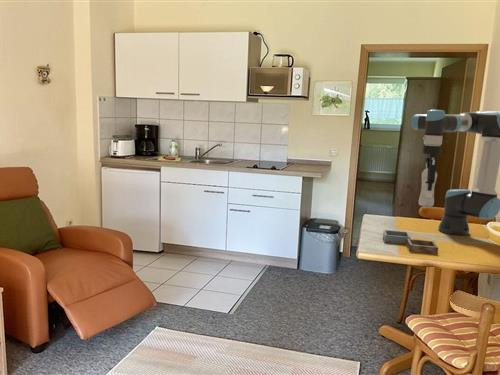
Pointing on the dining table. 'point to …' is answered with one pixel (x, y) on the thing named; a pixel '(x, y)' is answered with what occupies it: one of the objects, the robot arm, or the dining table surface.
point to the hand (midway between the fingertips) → (426, 196)
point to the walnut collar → (422, 246)
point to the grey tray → (395, 236)
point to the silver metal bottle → (422, 200)
